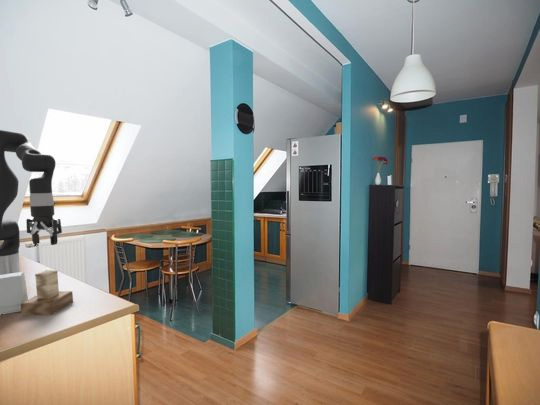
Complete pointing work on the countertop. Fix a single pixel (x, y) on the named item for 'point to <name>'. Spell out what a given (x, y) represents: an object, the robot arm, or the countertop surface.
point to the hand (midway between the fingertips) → (45, 244)
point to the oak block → (47, 284)
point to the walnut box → (46, 304)
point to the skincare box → (12, 292)
